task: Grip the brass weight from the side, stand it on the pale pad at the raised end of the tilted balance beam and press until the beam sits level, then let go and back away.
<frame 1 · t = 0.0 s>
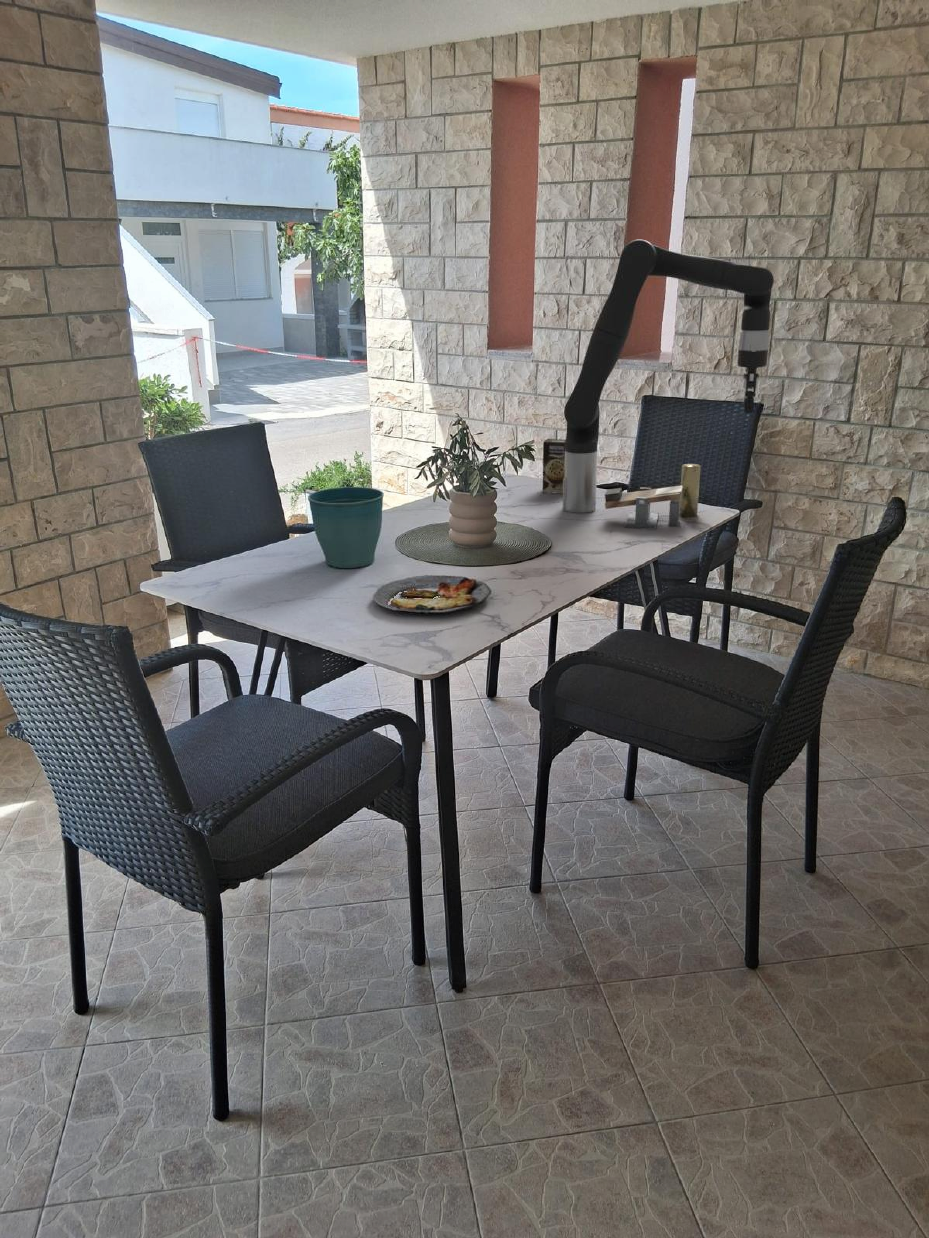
hand: (748, 410, 252), 29 cm above the table, tool pointing down, fingers open, 8 cm apart
food plate: (433, 602, 203), on the table
beam: (644, 493, 256), point 8 cm above the table, hinge at -10.0°
cookie box: (558, 492, 296), on the table
beam stand: (642, 521, 259), on the table
weight: (688, 514, 265), on the table
flower pot: (350, 562, 230), on the table
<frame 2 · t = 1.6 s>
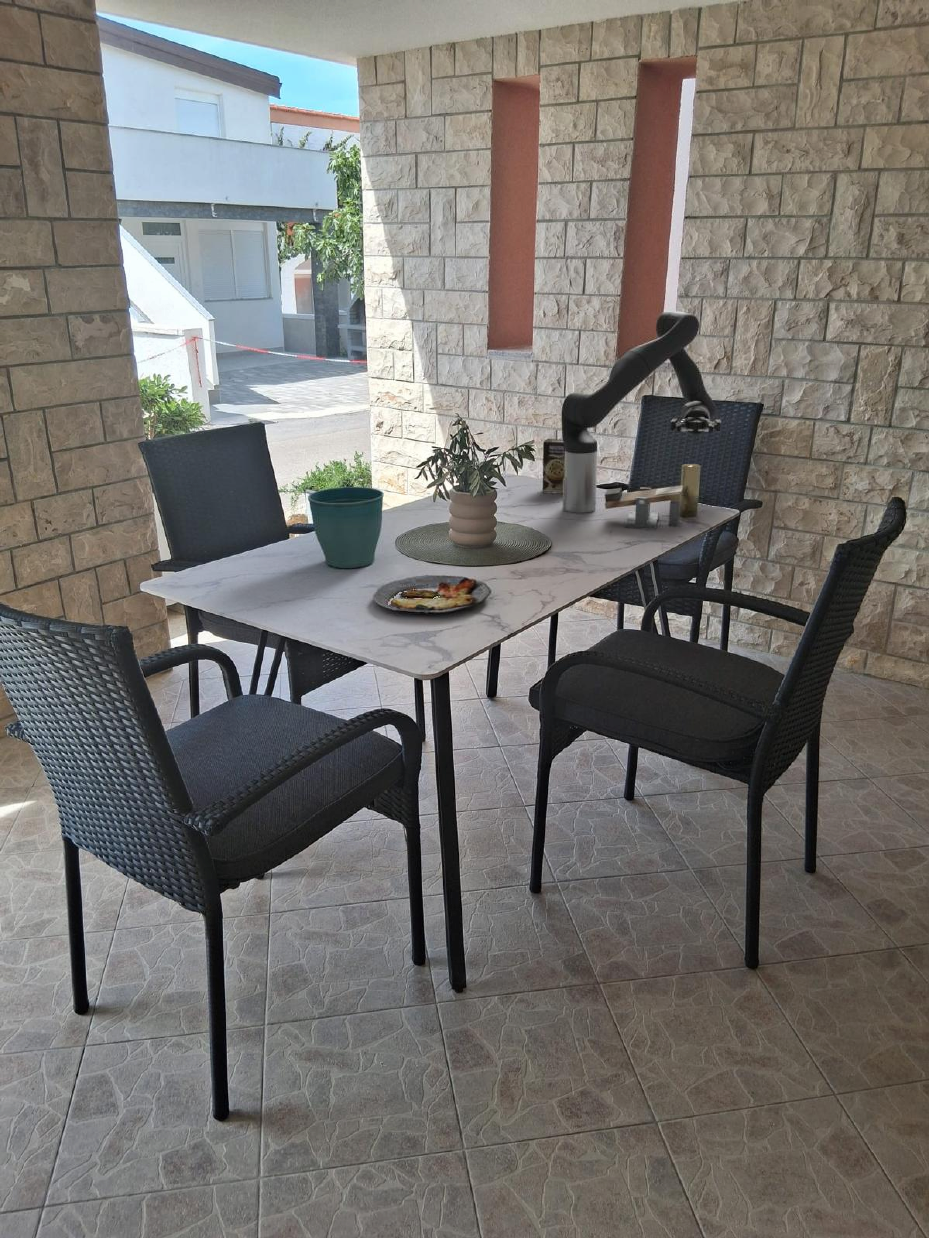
hand: (694, 429, 268), 22 cm above the table, tool horizontal, fingers open, 8 cm apart
nothing on the table moved.
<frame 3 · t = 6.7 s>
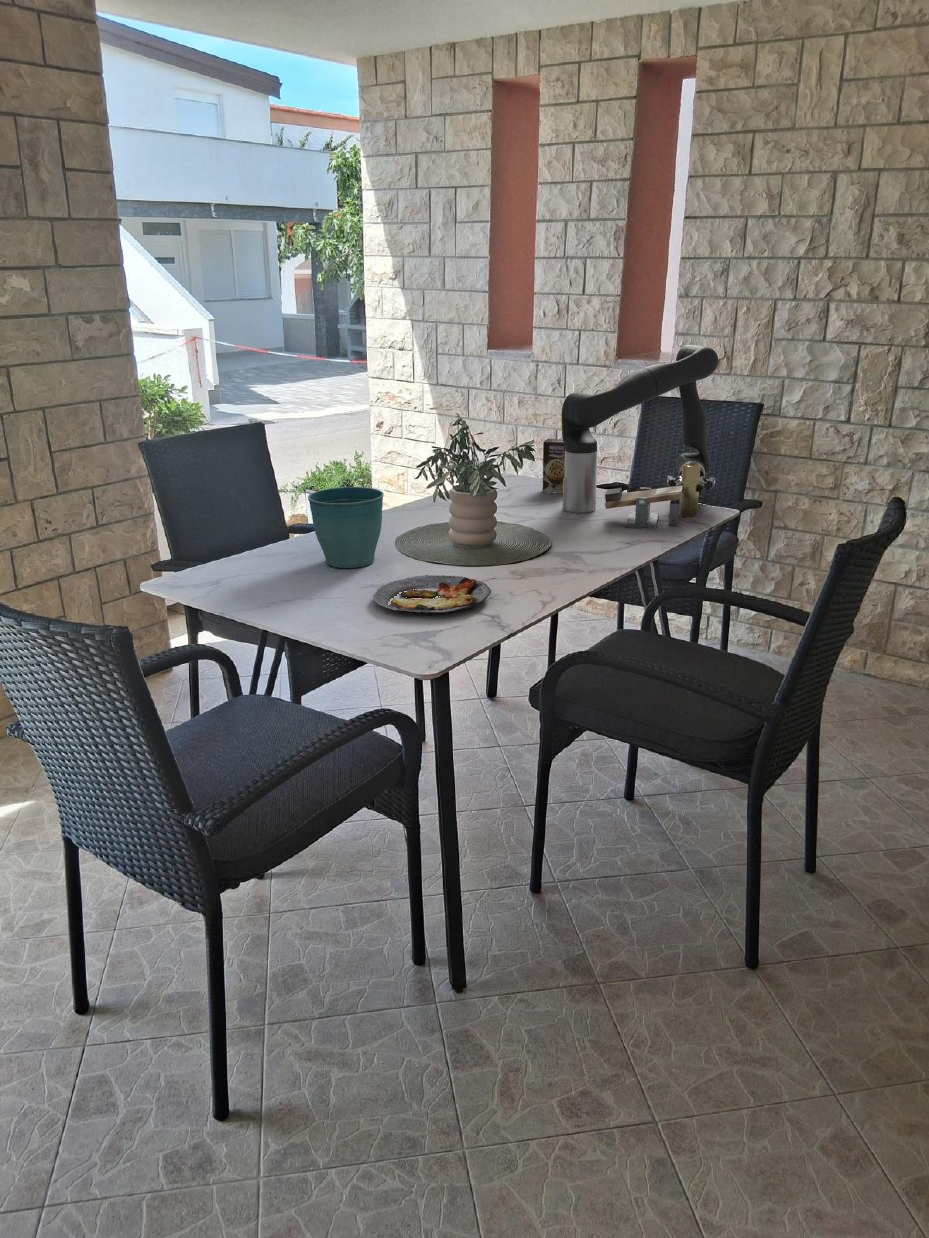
hand: (689, 488, 260), 8 cm above the table, tool horizontal, fingers closed on weight, 5 cm apart
weight: (688, 514, 265), on the table, touching gripper
everything else where it was.
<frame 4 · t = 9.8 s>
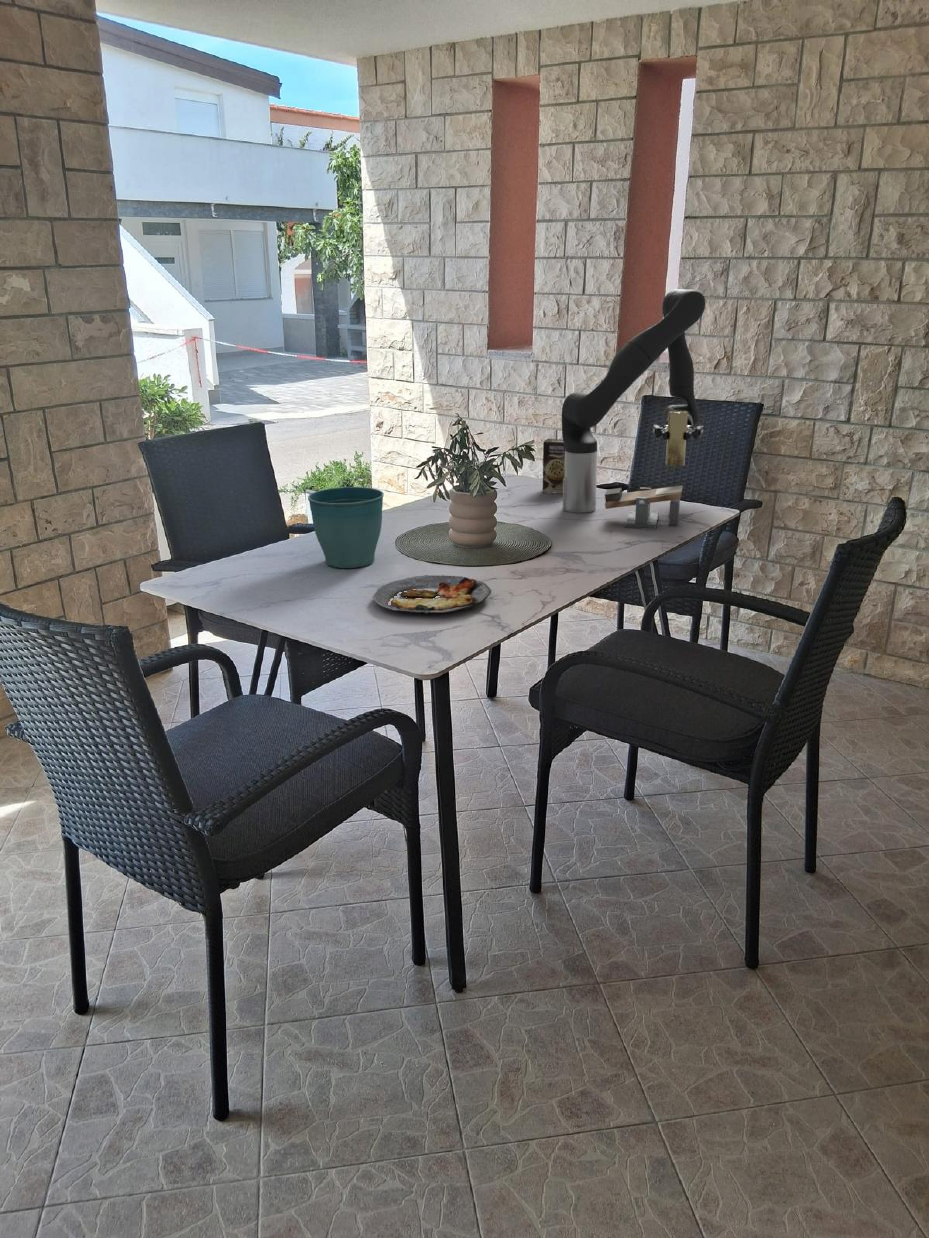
hand: (676, 436, 248), 24 cm above the table, tool horizontal, fingers closed on weight, 5 cm apart
weight: (675, 464, 253), point 16 cm above the table, touching gripper
everything else where it was.
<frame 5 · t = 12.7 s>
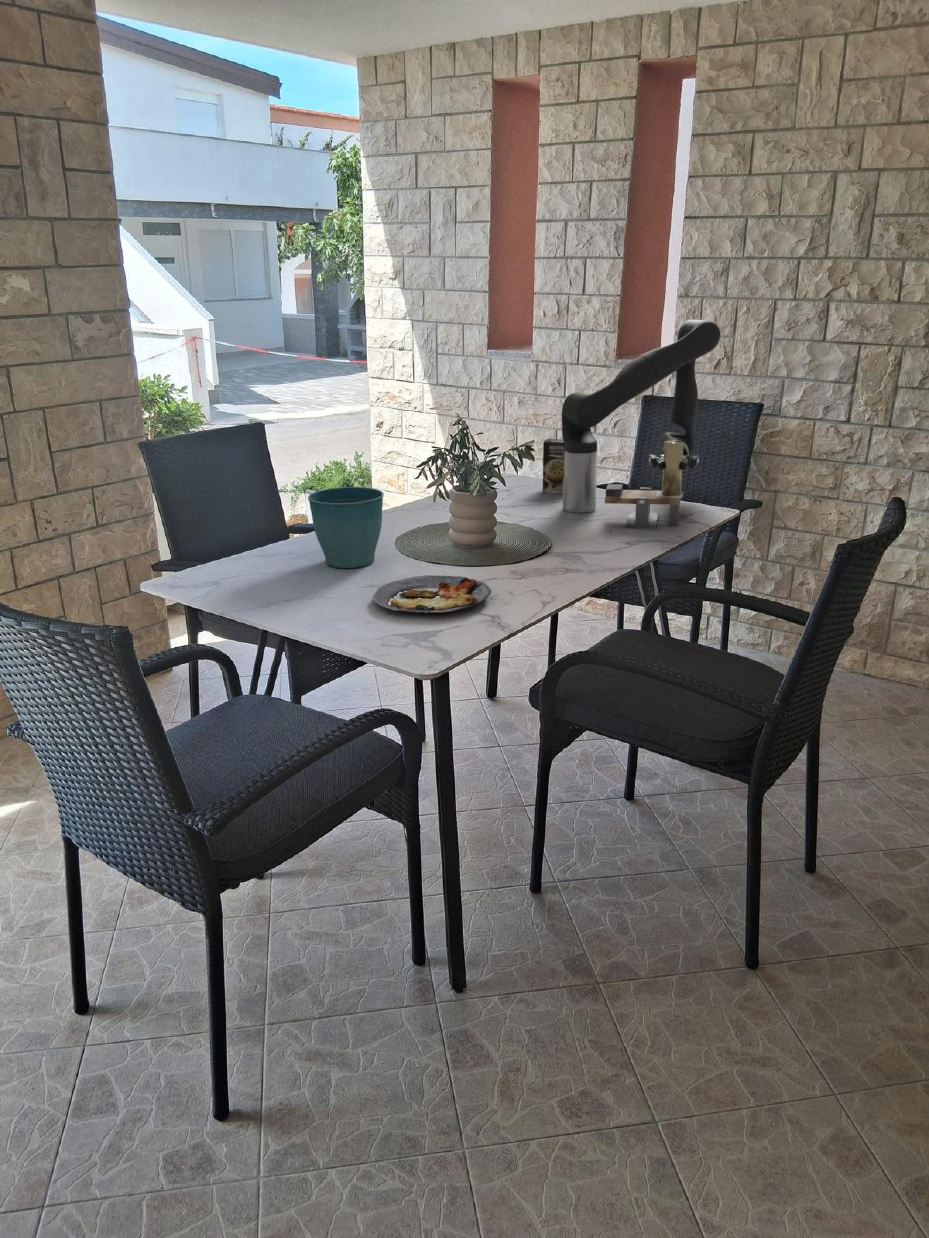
hand: (672, 466, 249), 16 cm above the table, tool horizontal, fingers closed on weight, 5 cm apart
beam: (644, 493, 256), point 8 cm above the table, hinge at -1.1°, touching weight
weight: (671, 494, 254), point 8 cm above the table, touching beam, gripper
everything else where it was.
when the fingers open (16 cm above the table, at t = 13.3 s): weight stays where it is, resting on beam.
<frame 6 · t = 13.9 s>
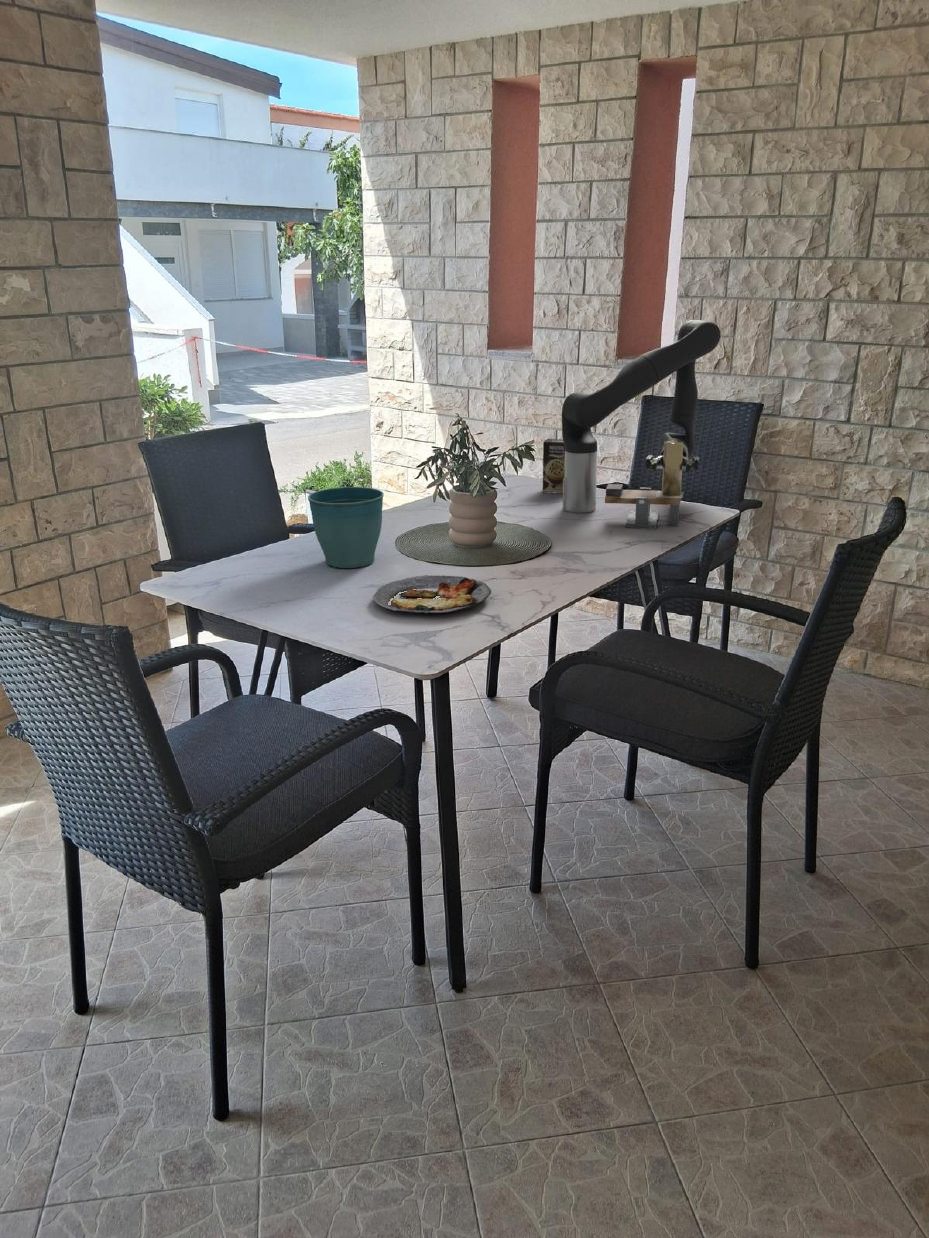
hand: (671, 467, 250), 16 cm above the table, tool horizontal, fingers open, 8 cm apart
beam: (644, 493, 256), point 8 cm above the table, hinge at -0.7°, touching weight
weight: (671, 494, 254), point 8 cm above the table, touching beam
everything else where it was.
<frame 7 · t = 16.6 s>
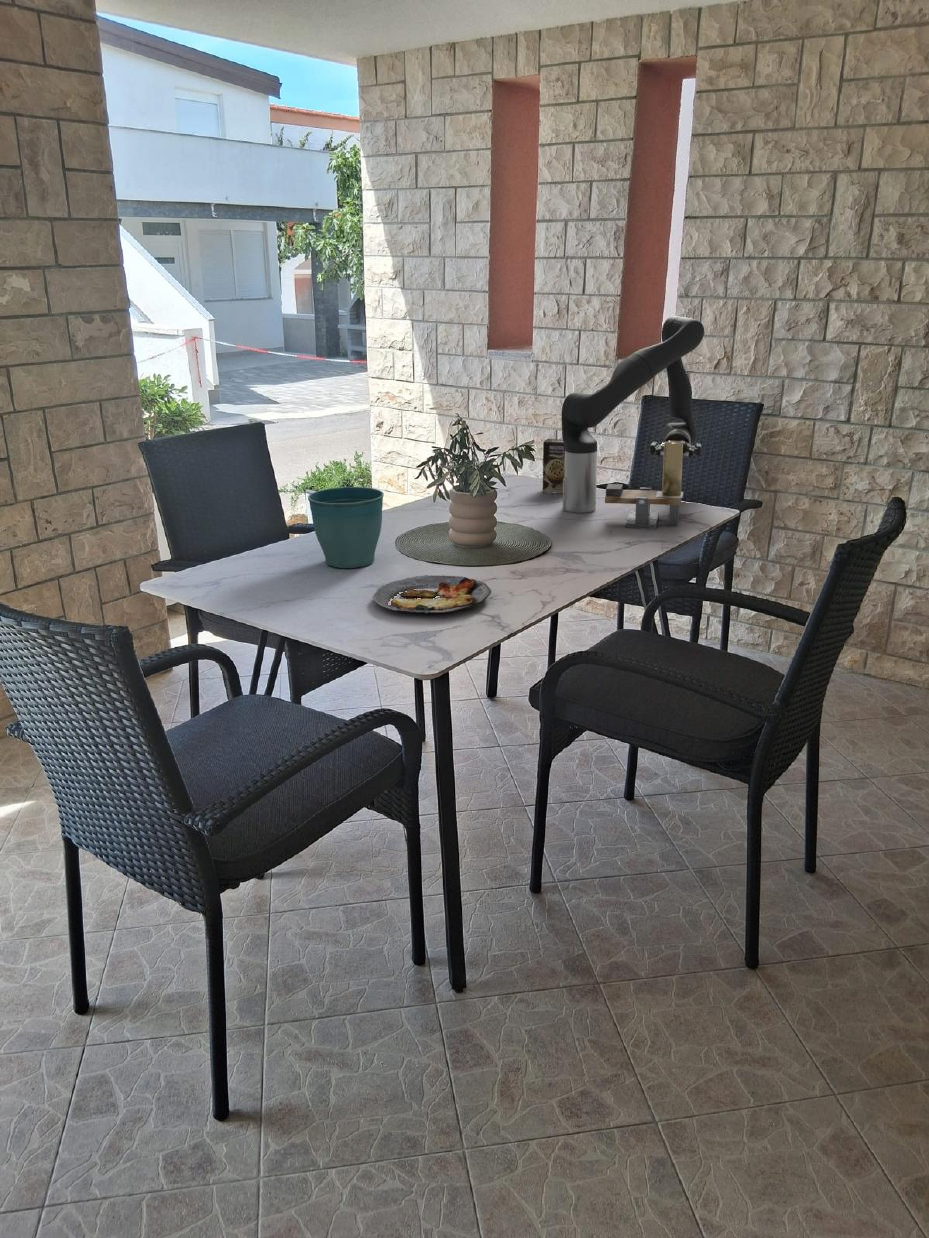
hand: (674, 453, 263), 17 cm above the table, tool horizontal, fingers open, 8 cm apart
nothing on the table moved.
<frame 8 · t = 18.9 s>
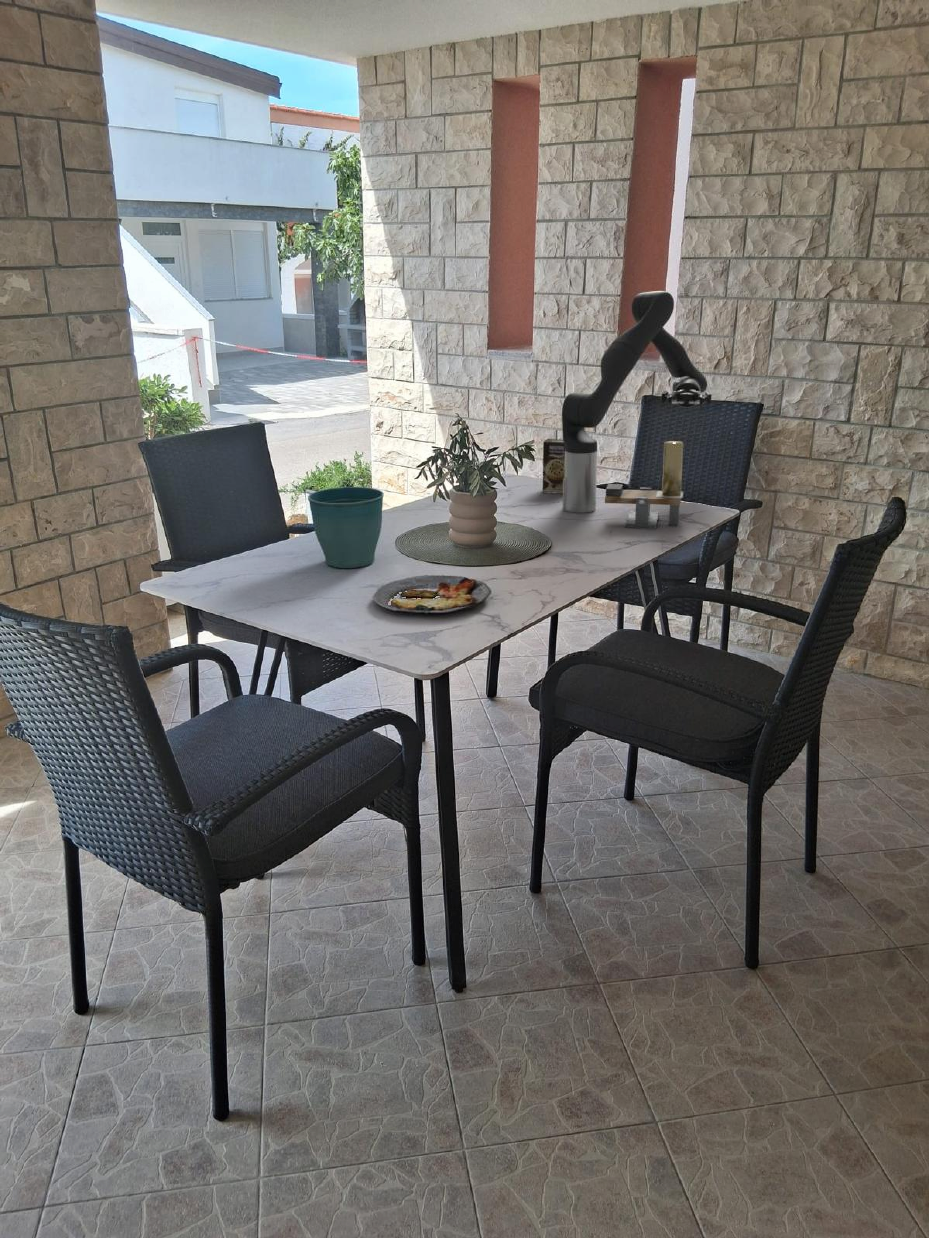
hand: (685, 400, 267), 30 cm above the table, tool horizontal, fingers open, 8 cm apart
nothing on the table moved.
at the end: beam at -1° (first picture: -10°); weight 0.4 cm from the target spot on the beam, point 1.0 cm above the beam's base; weight tilted 1° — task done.
